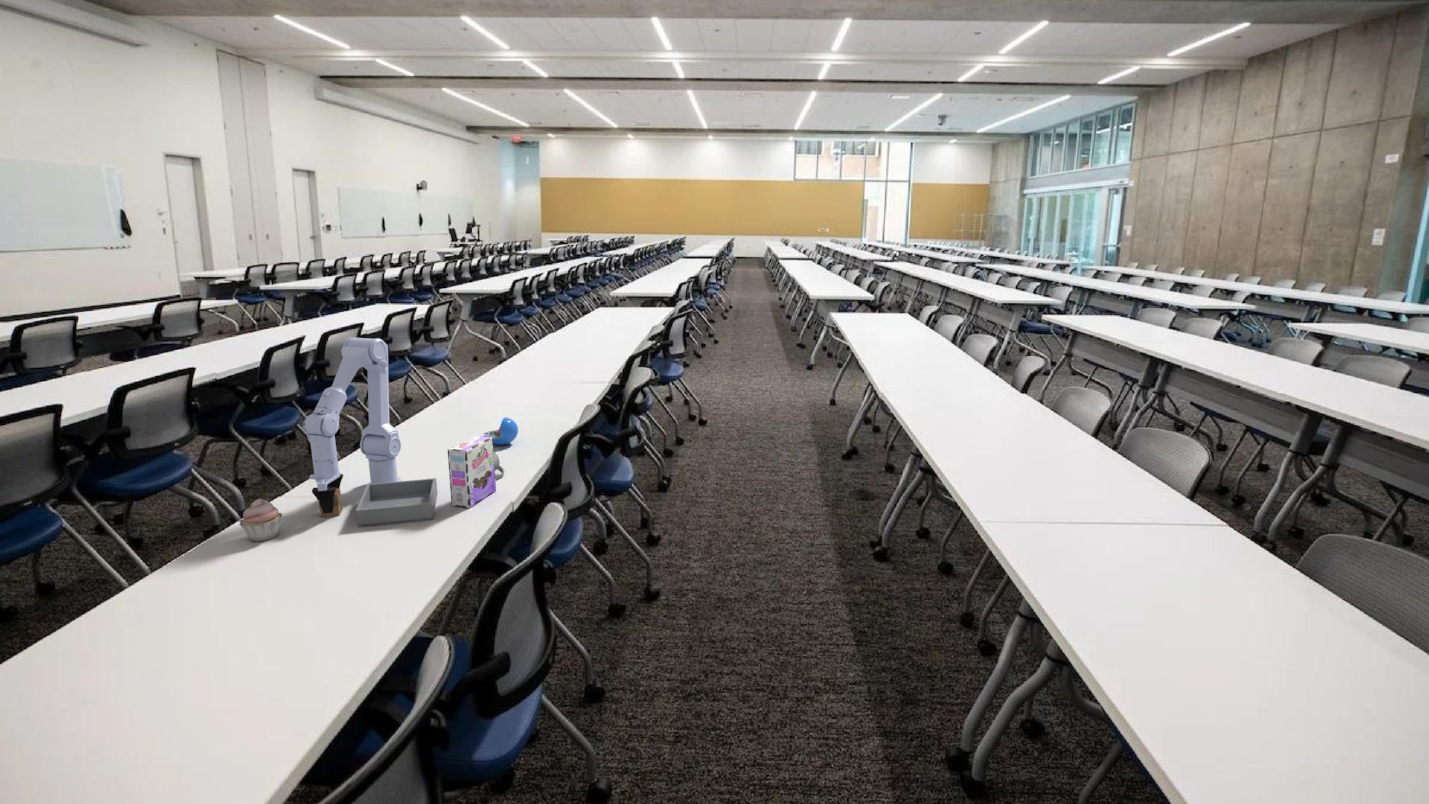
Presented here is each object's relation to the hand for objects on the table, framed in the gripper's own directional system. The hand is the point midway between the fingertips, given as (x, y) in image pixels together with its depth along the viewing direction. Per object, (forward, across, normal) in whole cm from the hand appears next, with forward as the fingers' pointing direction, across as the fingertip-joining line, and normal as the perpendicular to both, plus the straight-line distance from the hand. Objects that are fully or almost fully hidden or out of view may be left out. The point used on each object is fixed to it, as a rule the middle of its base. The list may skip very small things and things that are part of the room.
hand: (331, 507), depth 197 cm
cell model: (+2, -52, +45) cm, 69 cm away
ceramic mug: (+2, -20, +40) cm, 44 cm away
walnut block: (+2, 0, 0) cm, 2 cm away
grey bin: (+2, +2, +17) cm, 17 cm away
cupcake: (+2, +12, -13) cm, 18 cm away
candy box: (+2, -1, +36) cm, 36 cm away
